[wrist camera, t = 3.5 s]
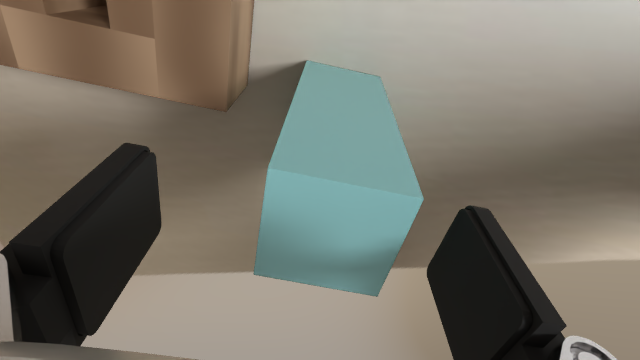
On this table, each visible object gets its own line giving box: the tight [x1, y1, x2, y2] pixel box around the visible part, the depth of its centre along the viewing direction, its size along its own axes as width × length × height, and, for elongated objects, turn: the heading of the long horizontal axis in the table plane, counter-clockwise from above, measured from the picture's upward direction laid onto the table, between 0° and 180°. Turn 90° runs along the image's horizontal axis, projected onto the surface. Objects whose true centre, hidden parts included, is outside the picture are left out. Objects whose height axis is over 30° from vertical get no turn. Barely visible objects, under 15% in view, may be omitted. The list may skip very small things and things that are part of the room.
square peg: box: [254, 61, 424, 297], centre depth 14 cm, size 4×4×11 cm
